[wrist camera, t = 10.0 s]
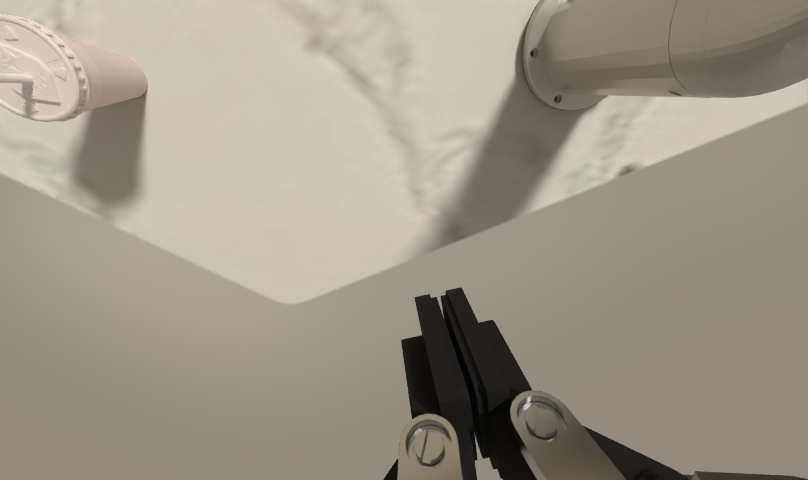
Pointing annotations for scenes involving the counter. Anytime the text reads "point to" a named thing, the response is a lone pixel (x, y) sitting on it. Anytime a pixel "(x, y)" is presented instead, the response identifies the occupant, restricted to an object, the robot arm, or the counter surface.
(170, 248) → the counter surface
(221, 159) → the counter surface
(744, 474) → the robot arm
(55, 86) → the smoothie
